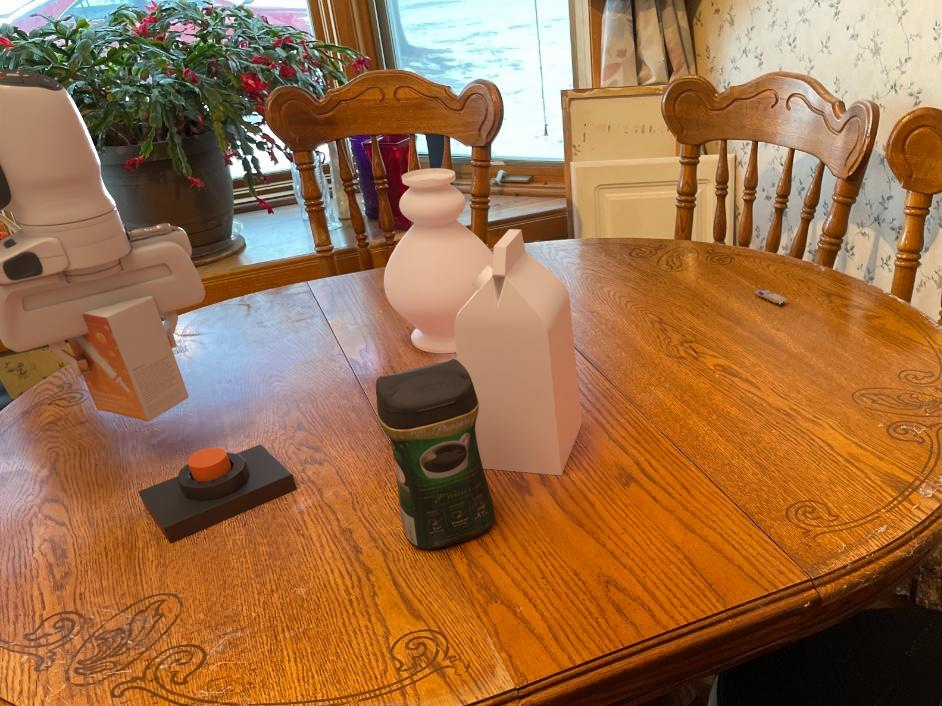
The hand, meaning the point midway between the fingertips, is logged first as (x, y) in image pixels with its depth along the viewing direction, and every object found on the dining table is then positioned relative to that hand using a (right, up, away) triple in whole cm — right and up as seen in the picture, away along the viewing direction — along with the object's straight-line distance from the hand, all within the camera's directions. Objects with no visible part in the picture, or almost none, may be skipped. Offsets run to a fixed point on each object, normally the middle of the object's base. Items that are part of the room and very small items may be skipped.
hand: (126, 360), depth 89 cm
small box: (0, -5, +3) cm, 6 cm away
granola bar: (+83, +15, +44) cm, 96 cm away
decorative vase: (+30, +8, +35) cm, 47 cm away
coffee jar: (+38, -19, -5) cm, 43 cm away
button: (+11, -13, -2) cm, 17 cm away
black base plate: (+11, -16, 0) cm, 19 cm away
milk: (+45, -10, +8) cm, 47 cm away
